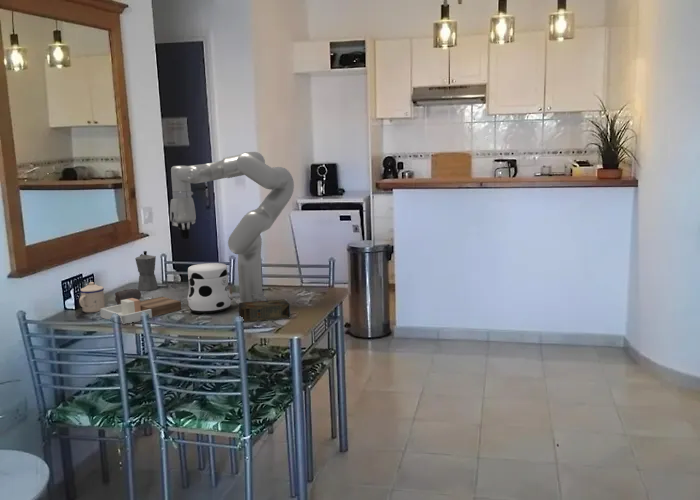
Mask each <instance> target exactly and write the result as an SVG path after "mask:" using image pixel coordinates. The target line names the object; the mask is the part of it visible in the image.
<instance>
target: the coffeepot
mask: <svg viewBox="0 0 700 500" xmlns="http://www.w3.org/2000/svg"><path fill="white" fill-rule="evenodd" d="M147 252H148V251H146V250H144V251H143V253H141V254H139V256H137V257H135V263H136V266H137V267H136V268H137V272H138V273H139V274H138V275H139V276H138V285H137V289H138V290H139V291H140V292H141V291H142V292H145V291H146V292H147V291H148V292H149V291H155V290H157V289H158V287H159V285H158V282H157V278H156V274H155V270H156V255H151V254H148V253H147Z"/></svg>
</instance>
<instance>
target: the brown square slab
mask: <svg viewBox="0 0 700 500" xmlns="http://www.w3.org/2000/svg"><path fill="white" fill-rule="evenodd" d="M140 307H141V311H144V310H148V309H151V311H152V318H153V317H157V316H160V315H165V314H170V313H173V312H174V313H175V312H178V310H179V311H182V302H181V300H176V299H173V298H169V297H166V296H158V297H153V298H150V299H144V300H140Z"/></svg>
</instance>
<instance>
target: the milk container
mask: <svg viewBox="0 0 700 500" xmlns="http://www.w3.org/2000/svg"><path fill="white" fill-rule="evenodd" d="M187 276H188V280H187V281H188V293H187V298H186V300H187V306H188V308H189V310H190V311H192V312H194V313H200V314H205V313H206V314H210V313H211V314H212V313H218V312H221V311H224V310H227V309H228V308H229V307H230V306H231V303H232V294H231V290H230V288H229V275H228V266H227V264H225V263H221V262H219V263H218V262H210V263H209V262H207V263H198V264H192V265H191V266H189V267H188V268H187Z"/></svg>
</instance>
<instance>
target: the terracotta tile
mask: <svg viewBox="0 0 700 500" xmlns="http://www.w3.org/2000/svg"><path fill="white" fill-rule="evenodd" d="M128 300H131V301H134V307H135V312H139V311H141V307H140V301H141V300H140V299H139V300H138V299H134V298H129V299H128Z"/></svg>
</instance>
